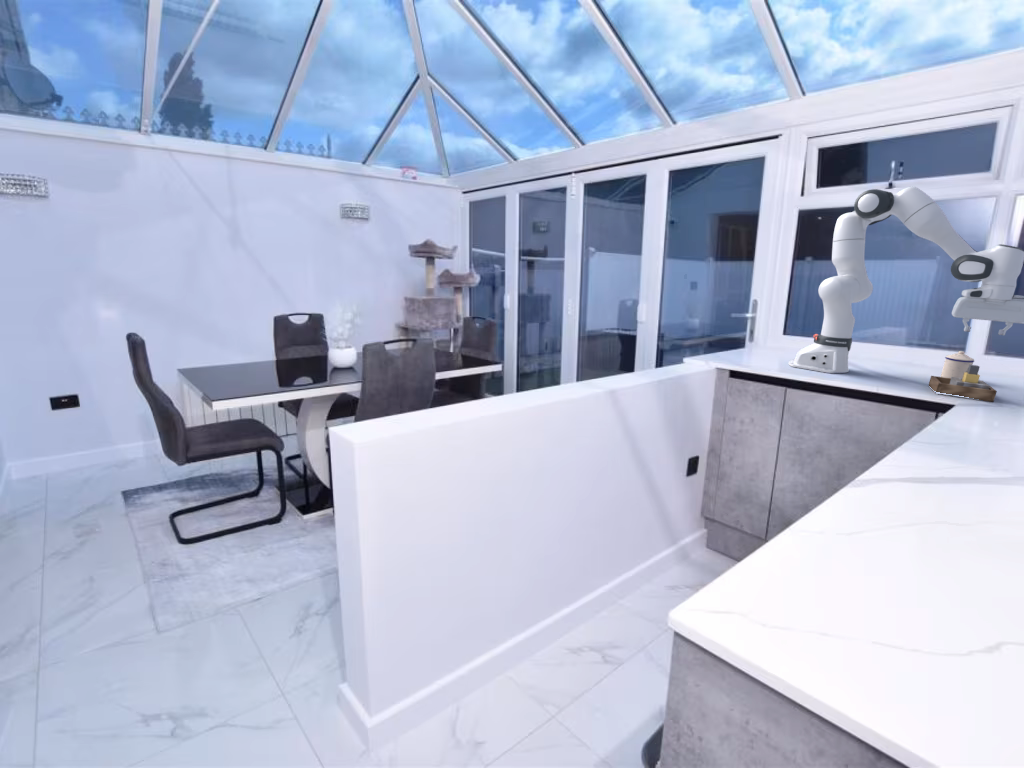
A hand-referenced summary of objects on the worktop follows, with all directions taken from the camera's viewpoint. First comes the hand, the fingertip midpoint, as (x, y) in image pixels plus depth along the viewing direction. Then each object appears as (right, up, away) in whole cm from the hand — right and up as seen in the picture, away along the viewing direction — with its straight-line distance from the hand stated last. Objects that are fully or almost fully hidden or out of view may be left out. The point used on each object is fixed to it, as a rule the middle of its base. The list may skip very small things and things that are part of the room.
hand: (983, 333), depth 181 cm
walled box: (-3, -21, +7) cm, 23 cm away
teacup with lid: (+16, -16, +30) cm, 38 cm away
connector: (-1, -21, +6) cm, 22 cm away
